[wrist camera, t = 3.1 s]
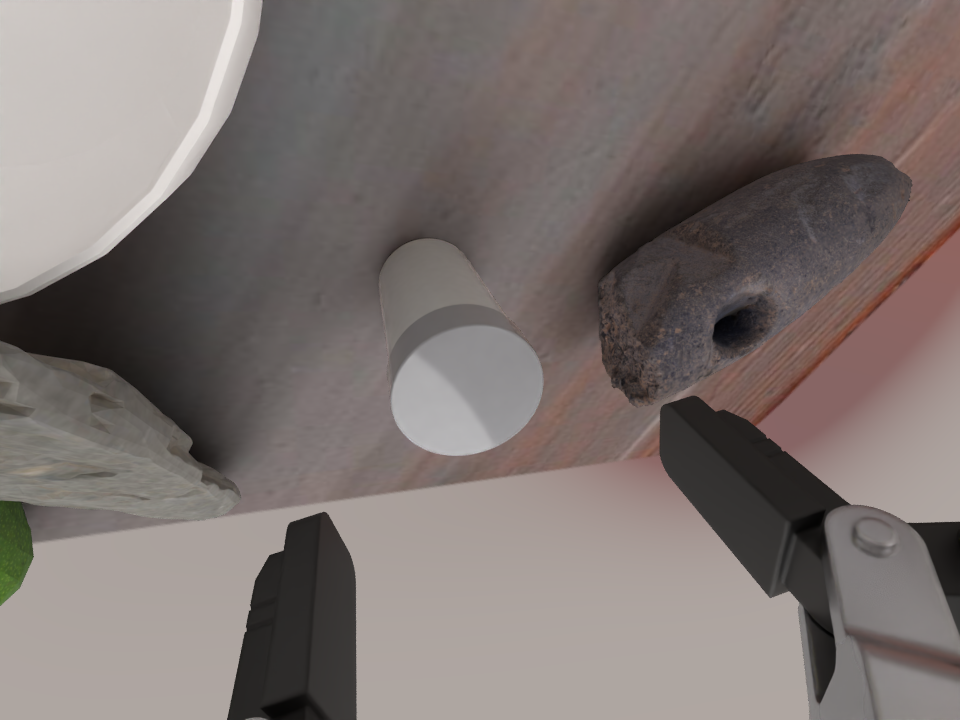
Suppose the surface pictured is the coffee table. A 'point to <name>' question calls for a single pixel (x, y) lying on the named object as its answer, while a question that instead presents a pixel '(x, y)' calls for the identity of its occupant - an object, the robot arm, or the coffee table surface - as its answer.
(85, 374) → the stone
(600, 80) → the coffee table surface
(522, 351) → the salt shaker
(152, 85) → the bowl
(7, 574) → the fruit
